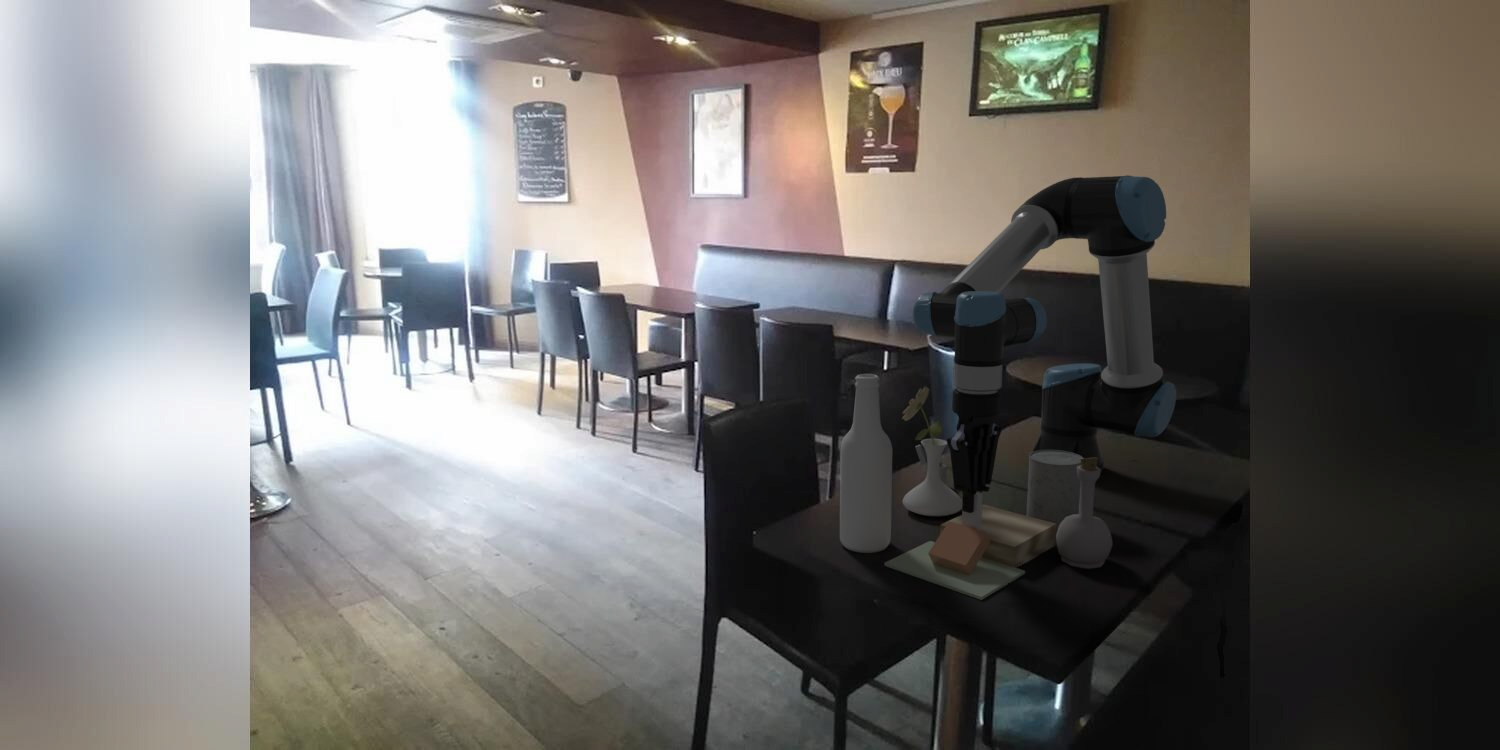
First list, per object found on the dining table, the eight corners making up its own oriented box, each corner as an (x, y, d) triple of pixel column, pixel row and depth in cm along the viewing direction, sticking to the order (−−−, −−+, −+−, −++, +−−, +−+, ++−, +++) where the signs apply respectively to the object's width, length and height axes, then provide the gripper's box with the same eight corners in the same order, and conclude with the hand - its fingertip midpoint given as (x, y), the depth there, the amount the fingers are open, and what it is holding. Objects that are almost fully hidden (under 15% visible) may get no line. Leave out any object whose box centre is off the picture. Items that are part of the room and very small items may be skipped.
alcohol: (838, 534, 157) (839, 371, 151) (887, 534, 157) (890, 370, 151) (841, 554, 148) (842, 381, 142) (893, 554, 148) (897, 381, 142)
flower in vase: (931, 497, 176) (935, 375, 171) (975, 513, 167) (980, 385, 162) (883, 510, 169) (885, 384, 164) (926, 528, 159) (930, 394, 154)
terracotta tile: (953, 531, 146) (948, 521, 145) (990, 542, 142) (986, 532, 140) (932, 562, 143) (928, 553, 142) (970, 575, 138) (965, 565, 137)
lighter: (946, 485, 183) (947, 448, 181) (941, 487, 182) (942, 450, 180) (919, 477, 188) (920, 442, 186) (914, 479, 187) (915, 443, 185)
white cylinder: (1083, 531, 157) (1088, 466, 154) (1028, 528, 159) (1031, 463, 156) (1075, 513, 166) (1079, 450, 164) (1023, 510, 168) (1026, 448, 166)
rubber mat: (929, 543, 152) (930, 540, 152) (1024, 573, 140) (1025, 570, 140) (884, 565, 144) (884, 562, 143) (981, 600, 131) (981, 596, 131)
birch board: (982, 525, 161) (983, 504, 160) (1054, 545, 151) (1056, 523, 150) (939, 546, 151) (940, 524, 150) (1013, 570, 141) (1014, 546, 140)
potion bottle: (1082, 575, 139) (1089, 466, 135) (1043, 554, 147) (1049, 452, 143) (1123, 565, 142) (1131, 459, 139) (1082, 546, 150) (1089, 445, 147)
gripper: (978, 379, 146) (972, 513, 151) (933, 392, 137) (929, 533, 142) (1019, 386, 141) (1012, 524, 146) (975, 399, 132) (969, 546, 137)
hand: (971, 528), depth 144 cm, fingers closed
